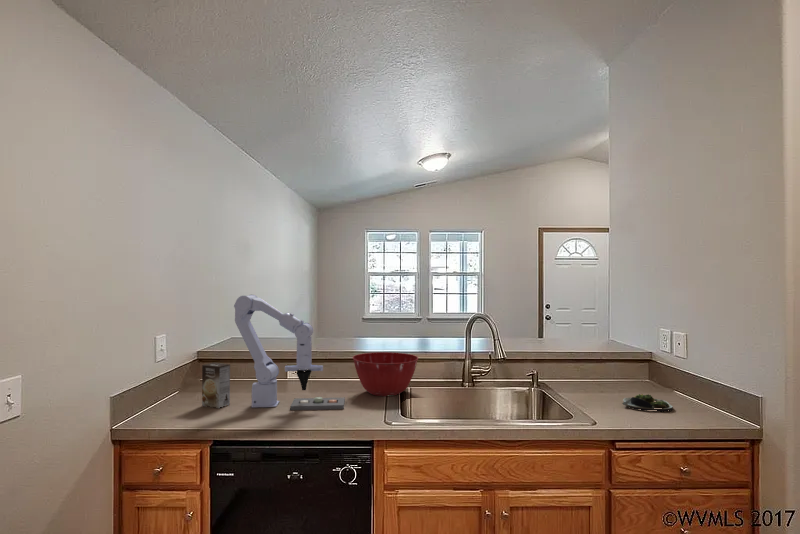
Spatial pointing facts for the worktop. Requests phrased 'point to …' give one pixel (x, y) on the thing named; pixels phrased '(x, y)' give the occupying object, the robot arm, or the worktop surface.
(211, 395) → the coffee box
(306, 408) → the button panel
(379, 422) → the worktop surface
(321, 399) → the sage button
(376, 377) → the mixing bowl
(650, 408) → the salad plate
